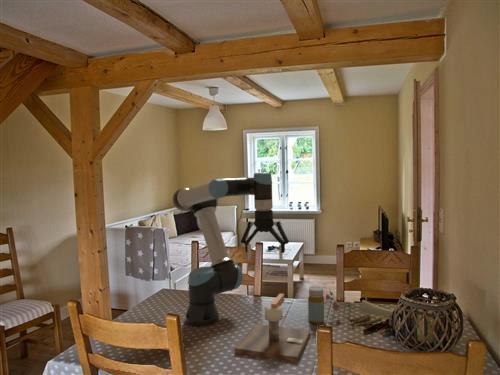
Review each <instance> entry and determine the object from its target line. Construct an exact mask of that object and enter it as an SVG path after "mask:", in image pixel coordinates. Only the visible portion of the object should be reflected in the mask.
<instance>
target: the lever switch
mask: <svg viewBox="0 0 500 375" xmlns="http://www.w3.org/2000/svg"><path fill="white" fill-rule="evenodd" d="M283 303H285V293H278V294H277V296H276V297H275V299H273V301H272V302H271V303H270V305H266V306H265V307H264V319H265V321H267V322H269V321H270V322H277V321H279V322H281V321H282V320H283V318H284V317H283V315H284V314H283V313H284V312H283V311H284V310H283V307H282V304H283Z"/></svg>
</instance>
